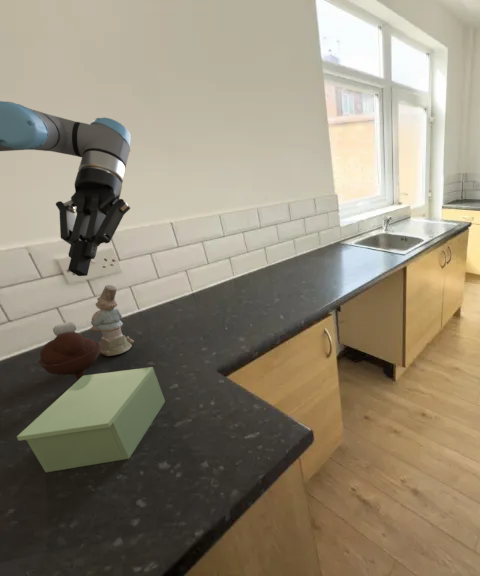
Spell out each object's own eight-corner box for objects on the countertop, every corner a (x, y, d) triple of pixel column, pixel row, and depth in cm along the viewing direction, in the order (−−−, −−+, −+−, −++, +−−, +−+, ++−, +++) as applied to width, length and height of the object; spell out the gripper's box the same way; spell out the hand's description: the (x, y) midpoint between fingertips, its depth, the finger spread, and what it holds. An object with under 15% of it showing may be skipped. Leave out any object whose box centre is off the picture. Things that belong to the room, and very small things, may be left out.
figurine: (142, 344, 98) (120, 283, 91) (114, 359, 91) (88, 295, 83) (121, 340, 100) (98, 281, 93) (92, 355, 93) (64, 292, 86)
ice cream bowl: (117, 366, 87) (98, 318, 82) (101, 392, 78) (77, 339, 72) (69, 376, 84) (45, 326, 78) (45, 404, 74) (16, 349, 69)
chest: (129, 458, 60) (113, 422, 56) (45, 472, 57) (23, 436, 54) (165, 401, 74) (154, 370, 71) (99, 410, 72) (84, 379, 68)
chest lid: (109, 427, 56) (107, 423, 55) (18, 440, 53) (16, 436, 53) (154, 370, 71) (152, 366, 70) (84, 378, 68) (82, 375, 68)
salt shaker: (61, 370, 86) (41, 328, 81) (84, 358, 91) (66, 318, 87) (77, 373, 85) (57, 331, 80) (100, 361, 90) (82, 320, 85)
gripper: (142, 188, 75) (126, 278, 66) (80, 191, 73) (55, 283, 64) (122, 165, 69) (101, 261, 60) (53, 166, 66) (20, 266, 57)
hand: (77, 272), depth 62 cm, fingers closed
